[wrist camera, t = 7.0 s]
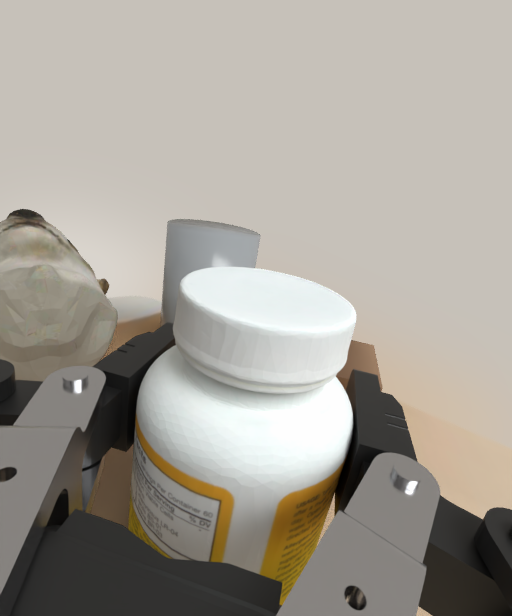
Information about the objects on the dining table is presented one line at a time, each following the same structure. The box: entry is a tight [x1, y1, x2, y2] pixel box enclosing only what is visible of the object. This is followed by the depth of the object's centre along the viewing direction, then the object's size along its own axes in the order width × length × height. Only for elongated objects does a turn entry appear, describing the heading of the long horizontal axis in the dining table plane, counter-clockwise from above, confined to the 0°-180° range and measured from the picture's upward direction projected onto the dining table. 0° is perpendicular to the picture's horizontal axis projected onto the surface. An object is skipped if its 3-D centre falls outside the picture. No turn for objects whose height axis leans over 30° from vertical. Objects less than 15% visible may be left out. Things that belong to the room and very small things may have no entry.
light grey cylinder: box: [160, 219, 260, 327], centre depth 21 cm, size 5×5×9 cm
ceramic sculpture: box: [0, 209, 117, 381], centre depth 21 cm, size 11×9×15 cm
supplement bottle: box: [128, 267, 356, 606], centre depth 10 cm, size 5×5×10 cm
